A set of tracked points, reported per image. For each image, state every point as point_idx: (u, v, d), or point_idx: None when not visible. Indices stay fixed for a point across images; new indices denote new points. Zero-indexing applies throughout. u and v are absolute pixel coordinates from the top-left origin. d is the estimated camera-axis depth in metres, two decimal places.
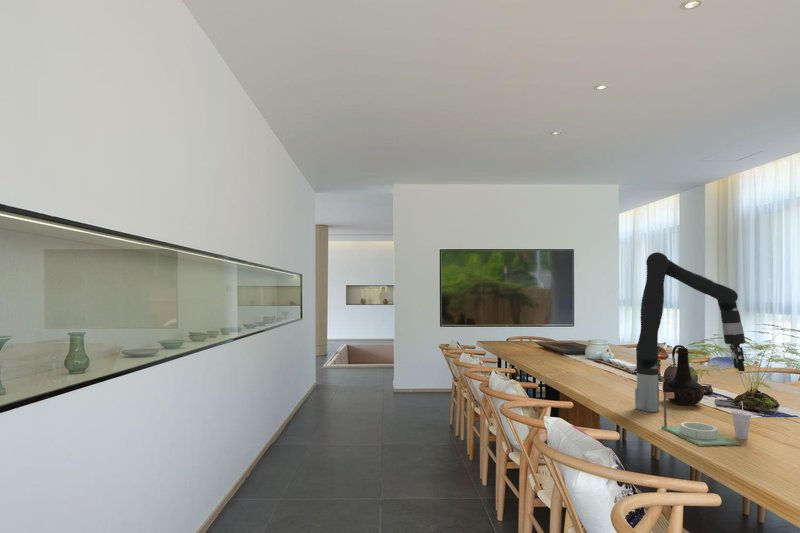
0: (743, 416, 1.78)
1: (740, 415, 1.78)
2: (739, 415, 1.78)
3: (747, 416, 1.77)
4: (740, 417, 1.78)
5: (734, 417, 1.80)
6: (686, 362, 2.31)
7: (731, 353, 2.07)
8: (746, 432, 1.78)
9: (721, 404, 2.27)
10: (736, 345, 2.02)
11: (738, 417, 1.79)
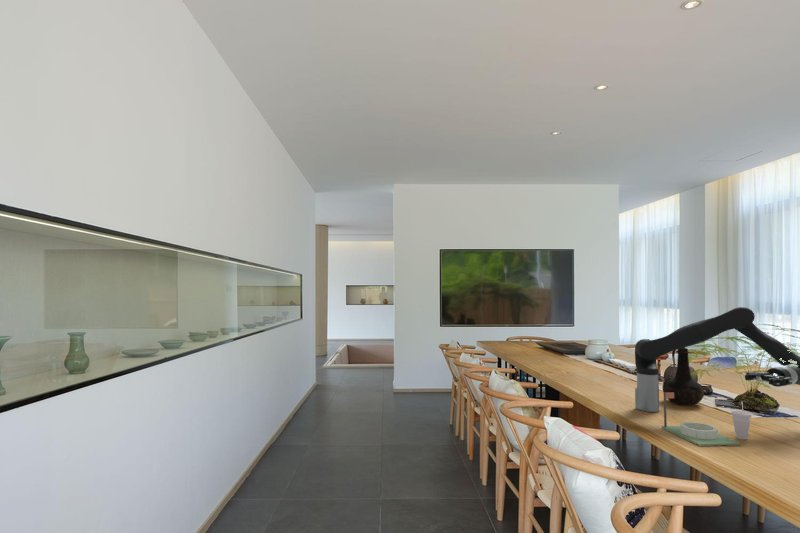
0: (743, 416, 1.78)
1: (740, 415, 1.78)
2: (739, 415, 1.78)
3: (747, 416, 1.77)
4: (740, 417, 1.78)
5: (734, 417, 1.80)
6: (686, 362, 2.31)
7: (762, 373, 1.90)
8: (746, 432, 1.78)
9: (721, 404, 2.27)
10: None
11: (738, 417, 1.79)
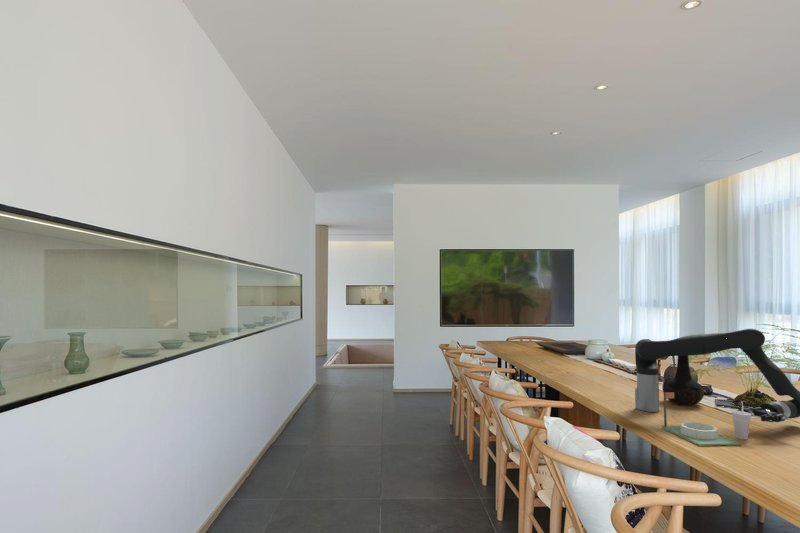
0: (743, 416, 1.78)
1: (740, 415, 1.78)
2: (739, 415, 1.78)
3: (747, 416, 1.77)
4: (740, 417, 1.78)
5: (734, 417, 1.80)
6: (686, 362, 2.31)
7: (755, 408, 1.87)
8: (746, 432, 1.78)
9: (721, 404, 2.27)
10: (777, 414, 1.83)
11: (738, 417, 1.79)
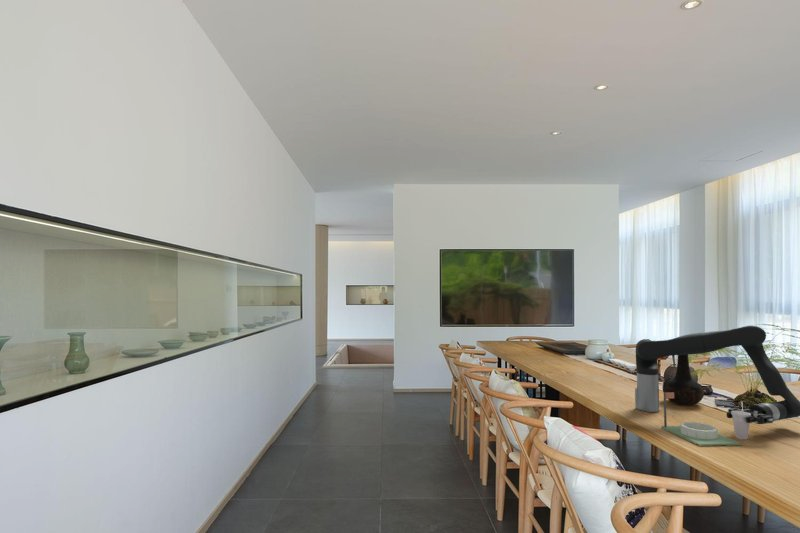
0: (743, 416, 1.78)
1: (740, 415, 1.78)
2: (739, 415, 1.78)
3: (747, 416, 1.77)
4: (740, 417, 1.78)
5: (734, 417, 1.80)
6: (686, 362, 2.31)
7: (744, 410, 1.84)
8: (746, 432, 1.78)
9: (721, 404, 2.27)
10: None
11: (738, 417, 1.79)
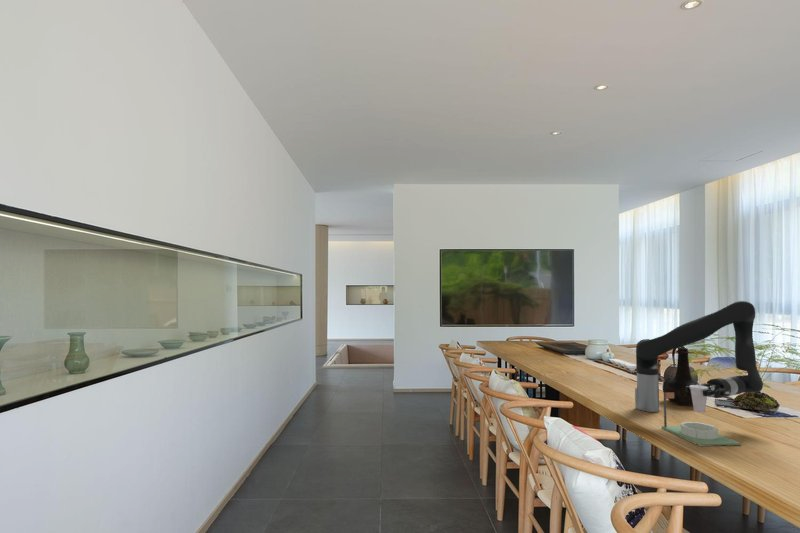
0: (700, 389, 1.80)
1: (697, 388, 1.80)
2: (696, 389, 1.80)
3: (704, 389, 1.79)
4: (697, 390, 1.80)
5: (692, 391, 1.82)
6: (686, 362, 2.31)
7: (702, 384, 1.86)
8: (703, 405, 1.80)
9: (721, 404, 2.27)
10: None
11: (695, 391, 1.81)
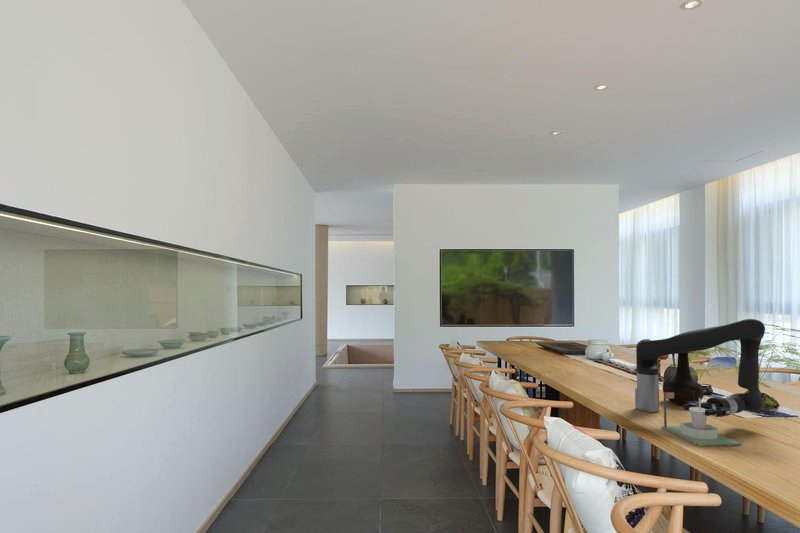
0: (700, 413, 1.79)
1: (697, 412, 1.79)
2: (696, 412, 1.80)
3: (704, 413, 1.79)
4: (697, 414, 1.80)
5: (691, 414, 1.82)
6: (686, 362, 2.31)
7: (701, 403, 1.86)
8: (703, 428, 1.80)
9: None
10: (723, 409, 1.82)
11: (695, 414, 1.80)
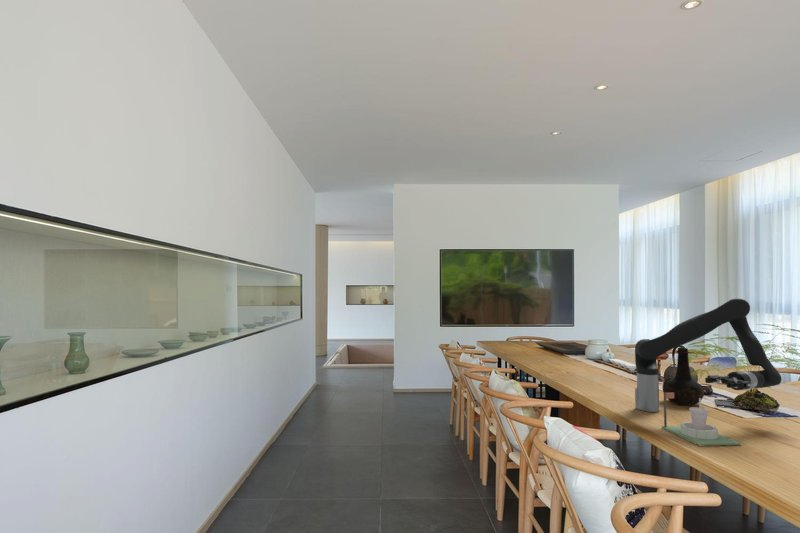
0: (700, 412, 1.79)
1: (697, 411, 1.80)
2: (696, 411, 1.80)
3: (704, 412, 1.79)
4: (697, 413, 1.80)
5: (692, 413, 1.82)
6: (686, 362, 2.31)
7: (722, 376, 1.93)
8: (703, 428, 1.80)
9: (721, 404, 2.27)
10: None
11: (695, 413, 1.80)
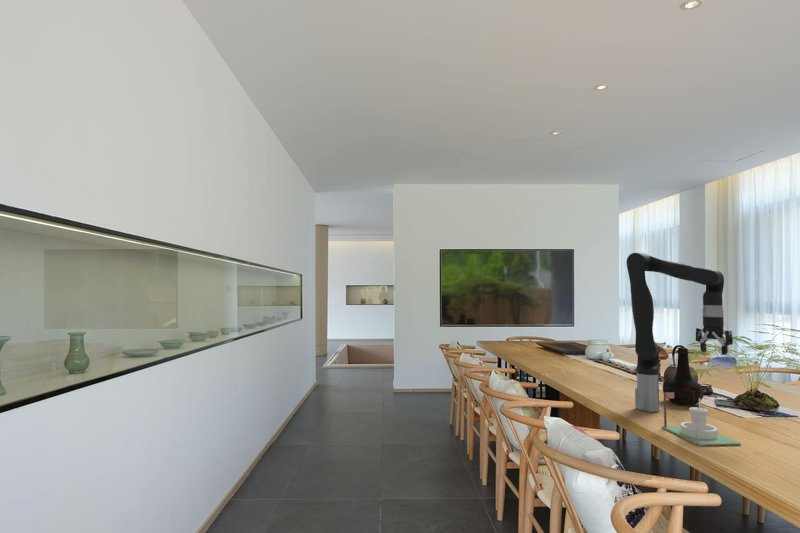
0: (700, 412, 1.80)
1: (697, 411, 1.80)
2: (696, 411, 1.80)
3: (703, 412, 1.79)
4: (697, 413, 1.80)
5: (691, 413, 1.82)
6: (686, 362, 2.31)
7: (706, 336, 2.01)
8: (703, 428, 1.80)
9: (721, 404, 2.27)
10: (721, 328, 1.96)
11: (695, 413, 1.80)
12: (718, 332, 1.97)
